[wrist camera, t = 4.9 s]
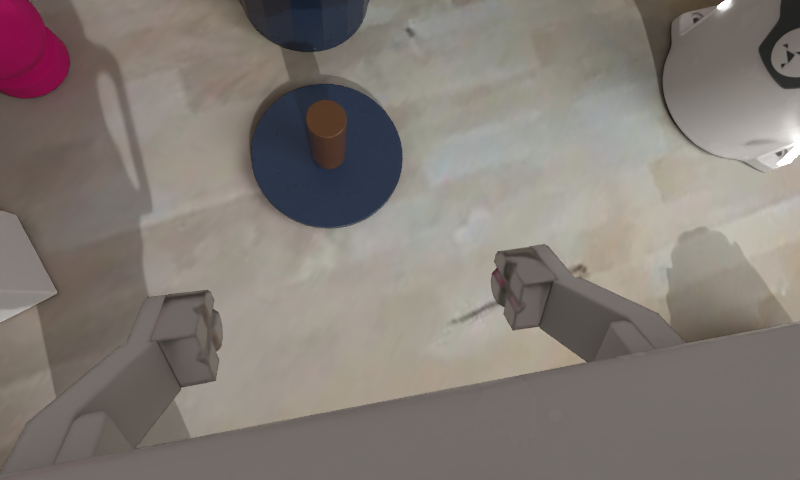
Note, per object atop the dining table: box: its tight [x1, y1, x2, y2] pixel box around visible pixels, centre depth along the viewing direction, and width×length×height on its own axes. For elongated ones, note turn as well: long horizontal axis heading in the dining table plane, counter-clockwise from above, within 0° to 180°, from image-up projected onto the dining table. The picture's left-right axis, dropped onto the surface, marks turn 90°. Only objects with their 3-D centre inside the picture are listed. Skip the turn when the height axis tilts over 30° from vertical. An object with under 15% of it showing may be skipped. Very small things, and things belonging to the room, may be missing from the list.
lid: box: [251, 84, 403, 228], centre depth 33 cm, size 13×13×8 cm
